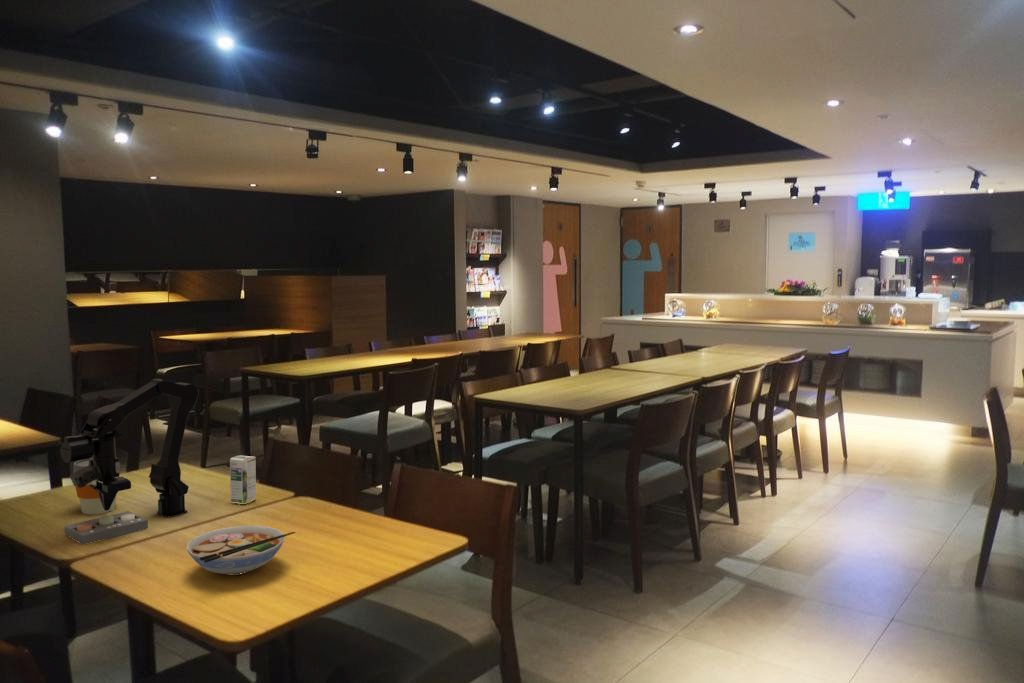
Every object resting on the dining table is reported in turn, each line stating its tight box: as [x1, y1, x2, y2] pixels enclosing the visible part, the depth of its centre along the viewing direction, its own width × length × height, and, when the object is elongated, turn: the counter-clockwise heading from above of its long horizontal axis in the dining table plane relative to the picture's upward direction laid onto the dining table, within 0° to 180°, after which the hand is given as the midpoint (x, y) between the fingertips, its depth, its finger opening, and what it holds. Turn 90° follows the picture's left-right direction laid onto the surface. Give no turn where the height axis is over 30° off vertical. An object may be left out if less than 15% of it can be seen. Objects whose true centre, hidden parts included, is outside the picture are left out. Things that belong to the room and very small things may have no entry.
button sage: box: [98, 515, 114, 527], centre depth 215 cm, size 4×4×3 cm
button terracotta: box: [77, 524, 92, 532], centre depth 211 cm, size 4×4×3 cm
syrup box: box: [229, 454, 257, 503], centre depth 243 cm, size 6×6×14 cm
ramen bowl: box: [185, 524, 296, 575], centre depth 189 cm, size 25×23×8 cm
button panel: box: [64, 510, 149, 545], centre depth 215 cm, size 17×12×3 cm
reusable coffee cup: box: [72, 457, 121, 515], centre depth 234 cm, size 13×13×15 cm
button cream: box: [121, 513, 136, 521], centre depth 220 cm, size 4×4×3 cm
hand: (106, 510), depth 215 cm, fingers closed
